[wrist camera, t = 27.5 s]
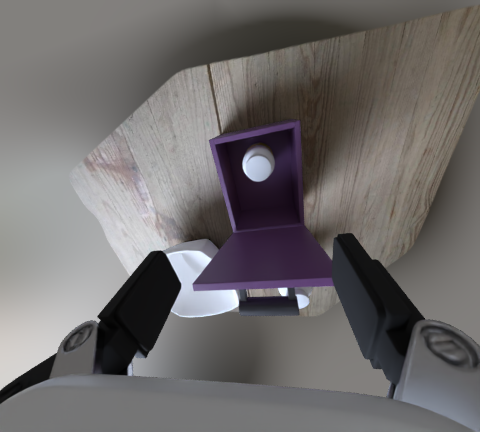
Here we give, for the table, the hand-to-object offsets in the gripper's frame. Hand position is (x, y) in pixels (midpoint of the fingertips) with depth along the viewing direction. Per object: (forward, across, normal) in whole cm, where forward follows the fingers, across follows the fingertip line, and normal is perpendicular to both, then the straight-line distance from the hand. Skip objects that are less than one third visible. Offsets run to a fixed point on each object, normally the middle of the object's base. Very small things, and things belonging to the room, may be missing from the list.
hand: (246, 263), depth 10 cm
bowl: (+31, +20, +24) cm, 44 cm away
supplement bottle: (+30, 0, 0) cm, 30 cm away
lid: (+12, 0, +9) cm, 15 cm away
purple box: (+30, 0, +4) cm, 31 cm away
